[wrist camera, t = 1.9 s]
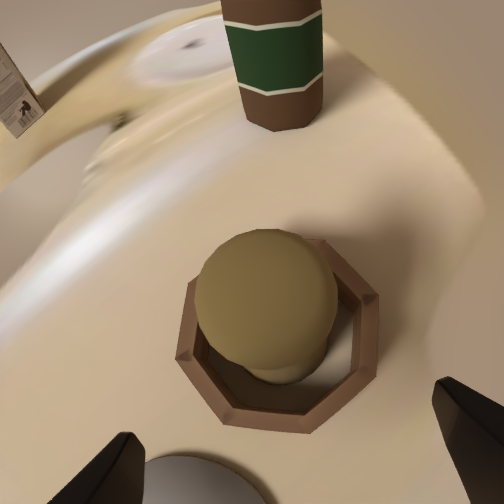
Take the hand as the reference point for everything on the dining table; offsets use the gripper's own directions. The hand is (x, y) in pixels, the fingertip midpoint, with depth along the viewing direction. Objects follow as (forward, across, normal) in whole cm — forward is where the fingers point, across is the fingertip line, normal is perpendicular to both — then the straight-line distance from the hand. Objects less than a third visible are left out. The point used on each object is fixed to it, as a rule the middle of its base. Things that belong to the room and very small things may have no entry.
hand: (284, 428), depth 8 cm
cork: (+11, 0, +5) cm, 12 cm away
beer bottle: (+26, -4, -10) cm, 28 cm away
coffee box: (+38, +33, -21) cm, 55 cm away
